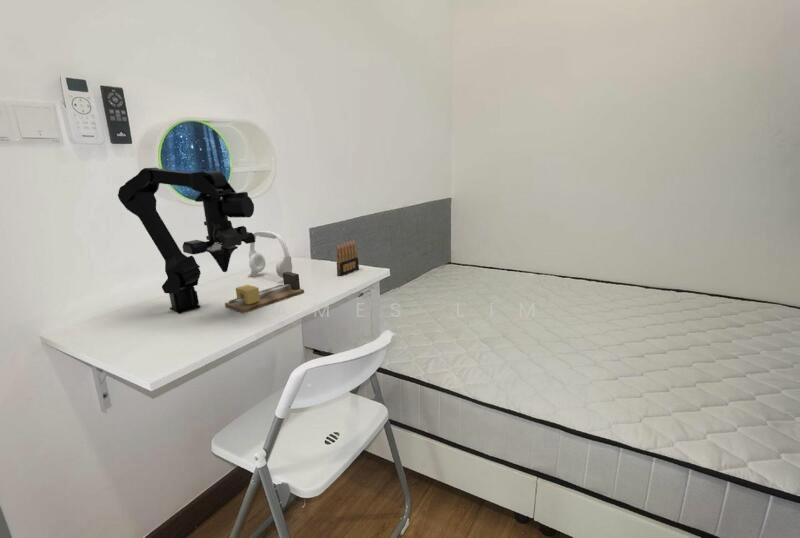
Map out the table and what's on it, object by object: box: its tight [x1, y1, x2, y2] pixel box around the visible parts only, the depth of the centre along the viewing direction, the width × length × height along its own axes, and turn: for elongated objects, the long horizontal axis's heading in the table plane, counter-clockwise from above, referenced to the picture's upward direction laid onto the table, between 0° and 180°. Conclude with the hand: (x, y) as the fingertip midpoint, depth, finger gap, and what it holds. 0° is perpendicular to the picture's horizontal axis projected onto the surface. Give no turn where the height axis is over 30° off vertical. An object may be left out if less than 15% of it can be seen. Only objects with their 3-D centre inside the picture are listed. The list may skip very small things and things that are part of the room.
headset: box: [247, 230, 293, 279], centre depth 152 cm, size 20×7×18 cm, turn 56°
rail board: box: [224, 272, 305, 314], centre depth 130 cm, size 22×10×6 cm, turn 141°
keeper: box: [235, 283, 260, 305], centre depth 126 cm, size 4×6×4 cm, turn 51°
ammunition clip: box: [336, 239, 360, 277], centre depth 156 cm, size 11×2×12 cm, turn 146°
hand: (225, 271), depth 119 cm, fingers closed
